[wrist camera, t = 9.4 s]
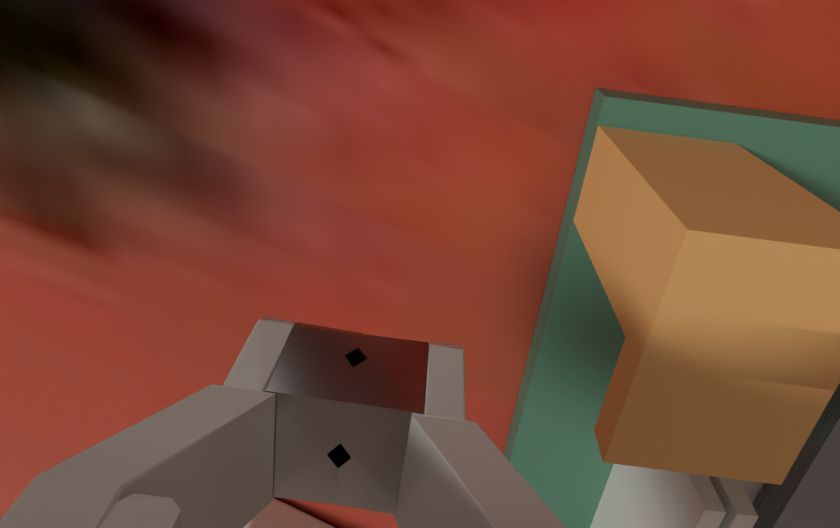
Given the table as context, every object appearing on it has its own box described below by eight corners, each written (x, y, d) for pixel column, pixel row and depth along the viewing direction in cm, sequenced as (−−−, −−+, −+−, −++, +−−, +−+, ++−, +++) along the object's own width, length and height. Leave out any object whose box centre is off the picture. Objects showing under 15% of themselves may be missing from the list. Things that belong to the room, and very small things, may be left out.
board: (768, 661, 30) (849, 842, 24) (460, 623, 30) (462, 795, 24) (1119, 157, 18) (1475, 264, 12) (595, 87, 18) (671, 158, 11)
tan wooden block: (673, 310, 20) (781, 484, 13) (553, 295, 20) (603, 462, 13) (736, 143, 17) (910, 258, 10) (598, 125, 17) (687, 229, 10)
